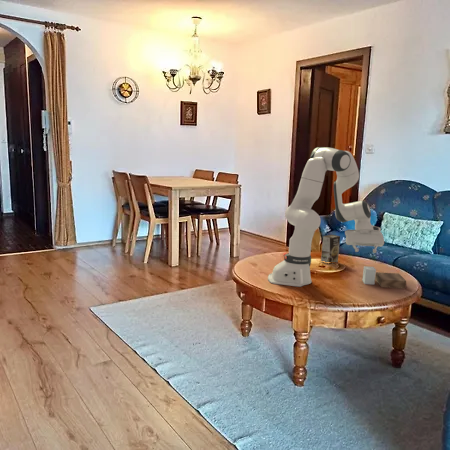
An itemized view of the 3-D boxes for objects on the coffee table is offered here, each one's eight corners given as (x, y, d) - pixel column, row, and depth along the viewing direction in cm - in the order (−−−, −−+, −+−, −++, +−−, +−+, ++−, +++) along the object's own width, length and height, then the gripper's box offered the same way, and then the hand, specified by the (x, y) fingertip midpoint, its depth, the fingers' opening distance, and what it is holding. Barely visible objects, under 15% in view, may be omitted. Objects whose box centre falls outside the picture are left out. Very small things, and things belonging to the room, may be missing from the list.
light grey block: (364, 283, 223) (366, 269, 221) (362, 280, 228) (363, 266, 226) (374, 284, 222) (376, 269, 221) (371, 281, 227) (373, 266, 226)
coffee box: (329, 264, 254) (331, 238, 251) (320, 262, 259) (322, 236, 255) (338, 262, 260) (340, 236, 256) (329, 259, 265) (331, 234, 261)
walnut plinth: (381, 287, 219) (381, 279, 218) (375, 279, 230) (375, 272, 230) (405, 288, 218) (406, 281, 217) (398, 280, 229) (399, 273, 229)
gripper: (345, 226, 239) (347, 247, 231) (383, 228, 237) (386, 250, 230) (343, 232, 244) (345, 253, 237) (380, 234, 242) (383, 255, 235)
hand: (365, 251), depth 233 cm, fingers open, 8 cm apart
